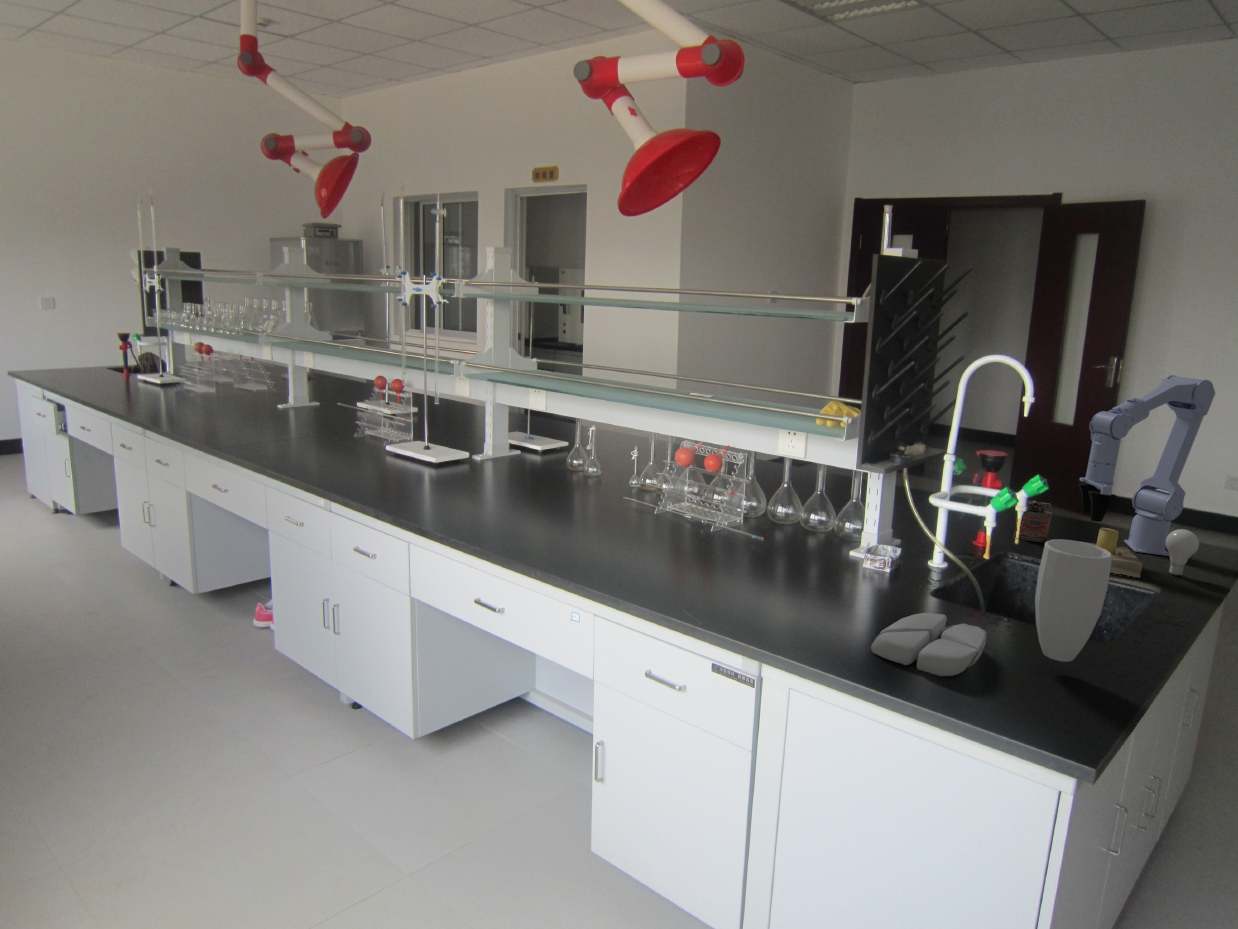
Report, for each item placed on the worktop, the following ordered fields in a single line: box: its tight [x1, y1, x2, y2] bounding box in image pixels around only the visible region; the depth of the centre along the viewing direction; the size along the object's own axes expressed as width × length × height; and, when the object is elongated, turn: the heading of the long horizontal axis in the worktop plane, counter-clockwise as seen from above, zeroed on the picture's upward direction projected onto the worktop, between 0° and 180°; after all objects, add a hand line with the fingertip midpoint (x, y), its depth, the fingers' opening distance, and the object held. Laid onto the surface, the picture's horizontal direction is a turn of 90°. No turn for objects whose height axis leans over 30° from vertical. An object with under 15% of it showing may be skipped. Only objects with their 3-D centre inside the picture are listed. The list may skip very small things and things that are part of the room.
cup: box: [1034, 539, 1112, 663], centre depth 134 cm, size 10×10×22 cm
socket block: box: [1083, 541, 1144, 579], centre depth 194 cm, size 12×12×4 cm
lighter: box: [1013, 500, 1054, 543], centre depth 212 cm, size 8×3×10 cm, turn 76°
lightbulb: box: [1165, 528, 1200, 577], centre depth 190 cm, size 6×6×11 cm
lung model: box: [870, 612, 988, 677], centre depth 143 cm, size 7×17×25 cm
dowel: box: [1095, 527, 1120, 555], centre depth 194 cm, size 4×4×8 cm
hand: (1091, 516), depth 199 cm, fingers open, 7 cm apart
